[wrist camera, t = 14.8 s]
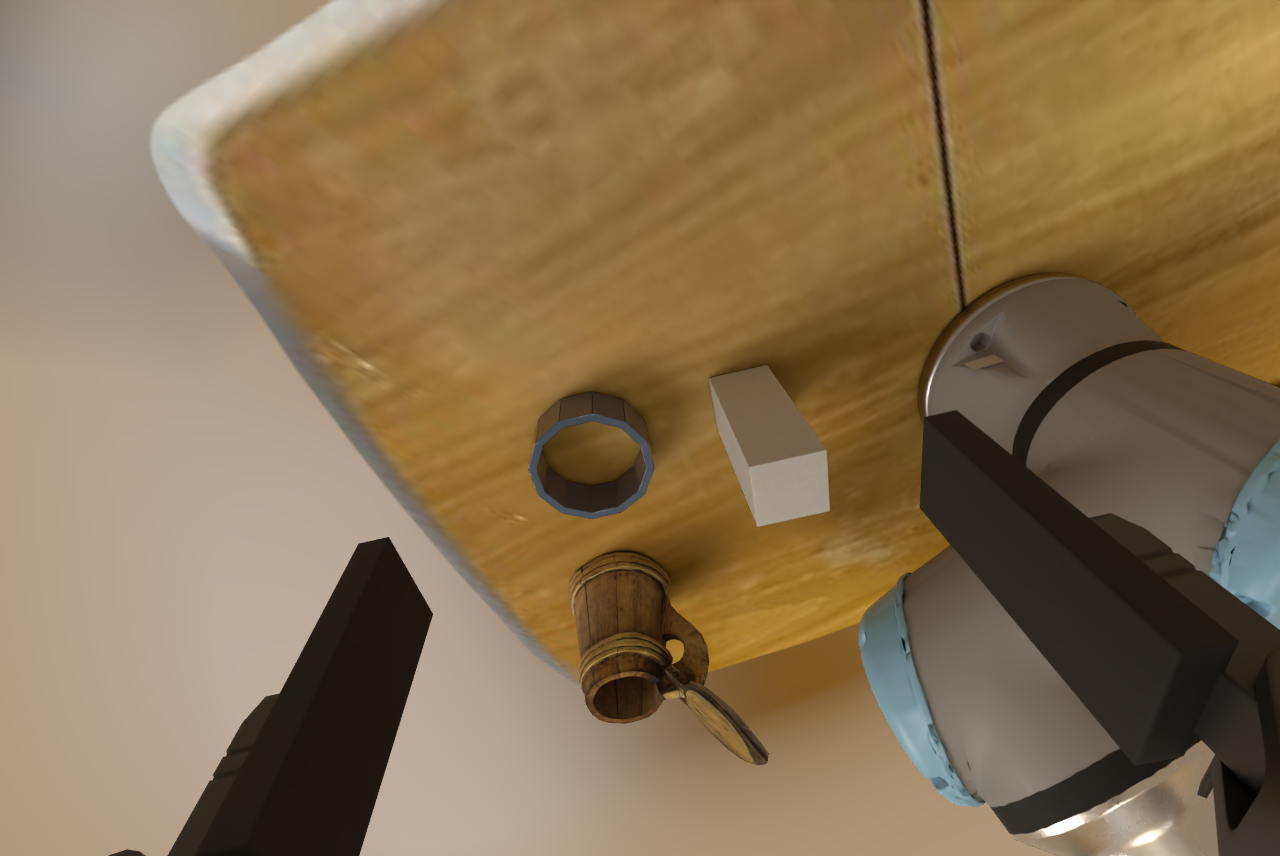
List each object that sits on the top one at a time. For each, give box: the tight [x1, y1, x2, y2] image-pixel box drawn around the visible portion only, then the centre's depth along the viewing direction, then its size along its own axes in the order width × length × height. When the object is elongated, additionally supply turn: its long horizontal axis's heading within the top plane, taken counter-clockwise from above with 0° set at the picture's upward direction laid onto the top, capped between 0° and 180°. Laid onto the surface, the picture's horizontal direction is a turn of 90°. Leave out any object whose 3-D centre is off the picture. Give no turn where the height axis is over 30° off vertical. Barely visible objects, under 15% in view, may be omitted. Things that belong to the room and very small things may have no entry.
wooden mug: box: [569, 553, 769, 765], centre depth 43 cm, size 9×14×18 cm, turn 107°
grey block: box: [709, 365, 830, 527], centre depth 38 cm, size 4×4×12 cm
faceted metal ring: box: [528, 392, 654, 519], centre depth 42 cm, size 9×9×4 cm
